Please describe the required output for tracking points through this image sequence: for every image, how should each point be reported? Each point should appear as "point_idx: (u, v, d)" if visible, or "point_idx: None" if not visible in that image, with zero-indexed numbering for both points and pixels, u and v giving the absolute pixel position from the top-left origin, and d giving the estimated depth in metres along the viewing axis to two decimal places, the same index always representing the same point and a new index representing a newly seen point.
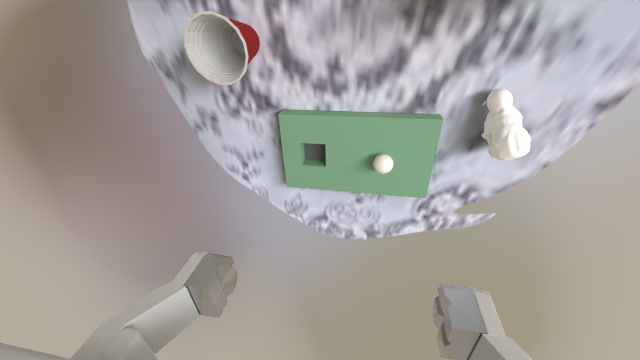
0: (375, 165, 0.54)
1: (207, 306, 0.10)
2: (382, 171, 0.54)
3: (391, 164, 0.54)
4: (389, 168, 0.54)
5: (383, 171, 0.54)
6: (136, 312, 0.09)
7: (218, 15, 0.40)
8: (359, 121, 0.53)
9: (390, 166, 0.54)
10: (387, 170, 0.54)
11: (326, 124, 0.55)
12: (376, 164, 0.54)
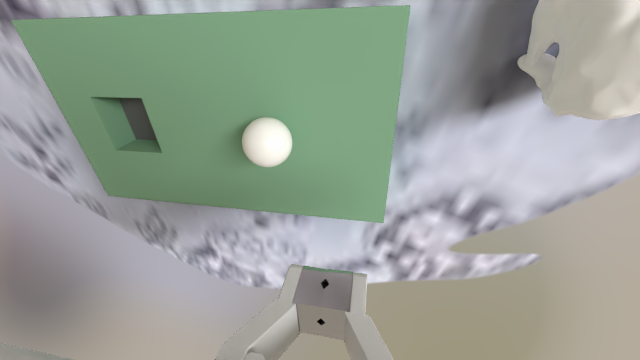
0: (243, 145, 0.21)
1: (312, 324, 0.09)
2: (259, 161, 0.21)
3: (280, 142, 0.20)
4: (275, 153, 0.20)
5: (261, 161, 0.21)
6: (254, 334, 0.08)
7: None
8: (194, 28, 0.20)
9: (277, 147, 0.20)
10: (271, 158, 0.21)
11: (123, 43, 0.22)
12: (243, 143, 0.21)
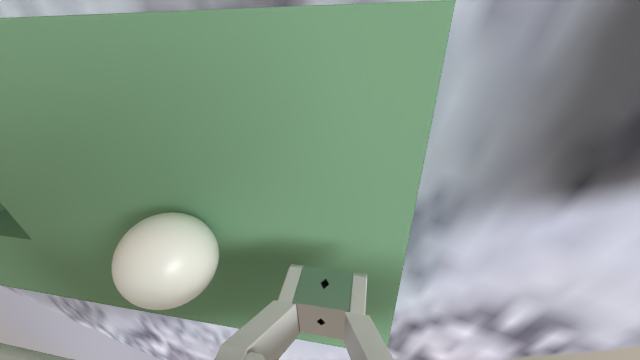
0: None
1: (312, 324, 0.09)
2: None
3: (181, 275, 0.10)
4: (171, 296, 0.10)
5: (147, 308, 0.11)
6: (254, 334, 0.08)
7: None
8: (3, 48, 0.10)
9: (175, 287, 0.10)
10: (165, 304, 0.10)
11: None
12: (112, 274, 0.11)
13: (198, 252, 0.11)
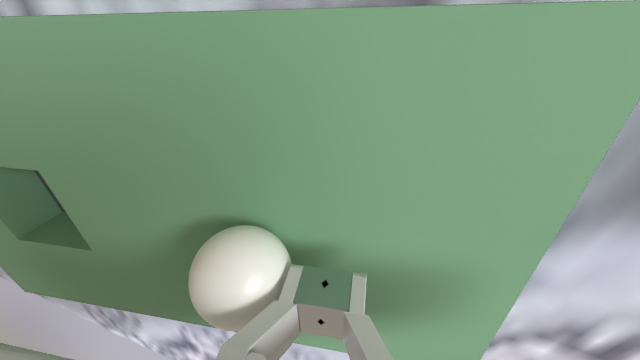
0: None
1: (313, 324, 0.09)
2: None
3: (231, 311, 0.09)
4: (218, 324, 0.09)
5: None
6: (255, 334, 0.08)
7: None
8: (112, 48, 0.09)
9: (222, 318, 0.09)
10: (214, 325, 0.10)
11: None
12: None
13: (257, 293, 0.09)
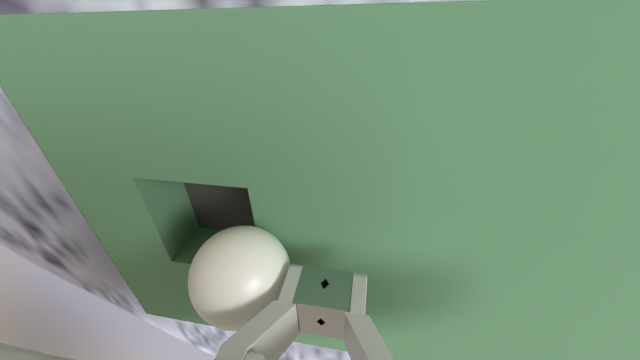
0: (192, 301, 0.10)
1: (312, 324, 0.09)
2: (233, 330, 0.10)
3: (276, 288, 0.10)
4: None
5: (238, 329, 0.10)
6: (254, 334, 0.08)
7: None
8: (460, 44, 0.07)
9: (271, 301, 0.10)
10: None
11: (234, 77, 0.09)
12: (193, 301, 0.10)
13: (283, 262, 0.10)
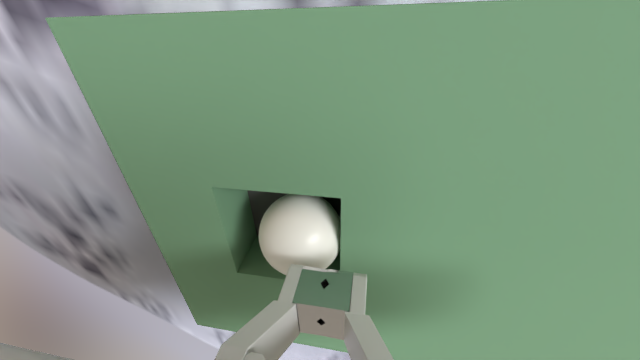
0: None
1: (312, 324, 0.09)
2: None
3: (278, 253, 0.11)
4: (269, 259, 0.12)
5: None
6: (254, 334, 0.08)
7: None
8: (634, 43, 0.06)
9: (271, 255, 0.12)
10: (267, 260, 0.12)
11: (353, 81, 0.08)
12: None
13: (300, 248, 0.11)
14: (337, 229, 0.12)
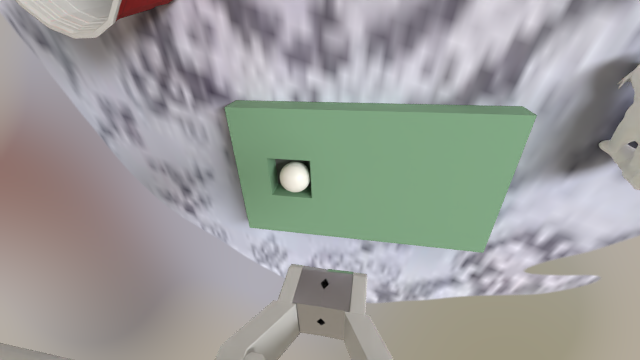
0: None
1: (312, 324, 0.09)
2: None
3: (285, 179, 0.34)
4: (282, 183, 0.34)
5: None
6: (254, 334, 0.08)
7: None
8: (371, 119, 0.29)
9: (283, 181, 0.34)
10: None
11: (310, 126, 0.30)
12: None
13: (292, 178, 0.33)
14: (307, 174, 0.34)
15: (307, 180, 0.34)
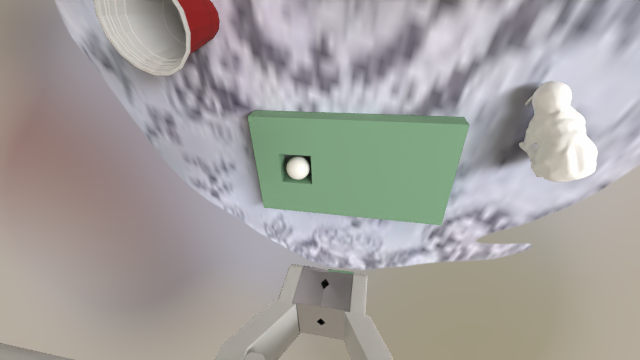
0: None
1: (312, 324, 0.09)
2: None
3: (289, 169, 0.45)
4: (287, 172, 0.46)
5: None
6: (254, 334, 0.08)
7: None
8: (355, 126, 0.40)
9: (288, 170, 0.45)
10: (287, 172, 0.46)
11: (311, 130, 0.41)
12: None
13: (294, 168, 0.45)
14: (306, 166, 0.45)
15: (306, 171, 0.45)
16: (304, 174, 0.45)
